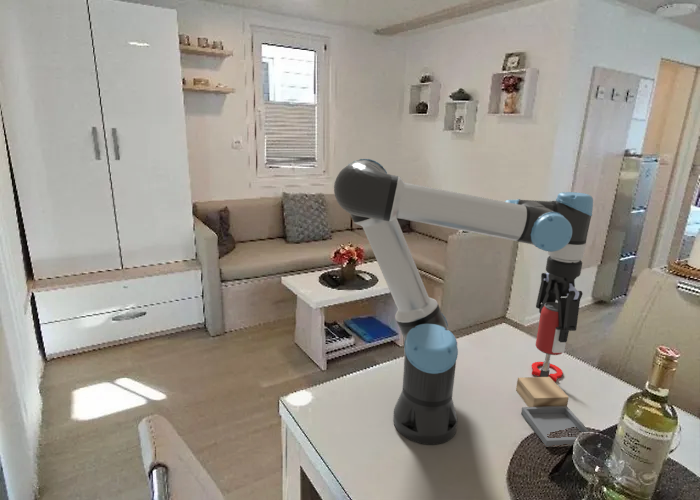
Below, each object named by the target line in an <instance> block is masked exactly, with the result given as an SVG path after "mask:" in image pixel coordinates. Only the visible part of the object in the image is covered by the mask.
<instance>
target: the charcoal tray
mask: <svg viewBox="0 0 700 500" xmlns="http://www.w3.org/2000/svg"><path fill="white" fill-rule="evenodd" d="M520 415H521V416H522V418H523V419H524V420H525V422H526V423H527V424H528V426H529V428H530V429H531V430H532V431H533V433H534V434H535V433H536V434H537V435H538V436H539V438H540V439H541V440H542V442H543V443H544V444H545V445H546V446H552V445H563V444H570V445H572V444H573V442H574V441H575V439H576V437H561V438H548V437H547V436H549V435H547V434H550V432H555V431H559V430H565V429H566V428H571V427H577V428H578V429H579V430H580V431H581V432H589V431H590V430H589V428H588V427H586V425H584V423H583V422H582V421H581V420H580V419H579V418H578V417H577V416H576V415H575V413H573V412H572V410H571V409H570V408H569V407H568V405H567V406H546V407H528V406H527V407H526V406H525V407H524V406H522V407H521V414H520ZM536 434H535V435H536ZM537 435H536V436H537ZM539 438H538V439H539ZM542 442H541V443H542Z"/></svg>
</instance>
